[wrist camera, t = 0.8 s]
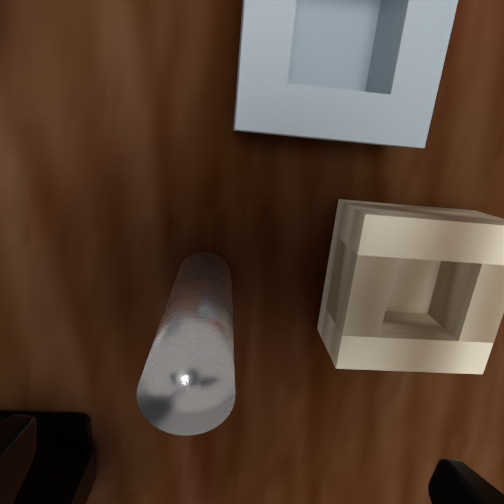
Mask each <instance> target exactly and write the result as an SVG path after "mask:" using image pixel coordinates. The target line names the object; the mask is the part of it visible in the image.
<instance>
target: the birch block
mask: <svg viewBox="0 0 504 504" xmlns="http://www.w3.org/2000/svg"><path fill="white" fill-rule="evenodd" d="M503 313H504V219H502V218H499V217H495V216H492V215H489V214H485V213H482V212H479V211H475V210H463V209H451V208H439V207H427V206H415V205H403V204H391V203H379V202H367V201H355V200H343V199H338V205H337V211H336V217H335V223H334V230H333V236H332V242H331V248H330V254H329V260H328V266H327V272H326V278H325V284H324V290H323V296H322V302H321V308H320V314H319V320H318V326H317V329H318V332H319V334H320V336H321V338H322V340H323V342H324V344H325V347H326V349H327V351H328V353H329V355H330V357H331V359H332V361H333V364H334V366H335V368H336V369H359V370H385V371H411V372H437V373H462V374H483V372H484V369H485V366H486V363H487V360H488V358H489V355H490V352H491V349H492V346H493V343H494V340H495V337H496V334H497V331H498V328H499V325H500V322H501V319H502V316H503Z"/></svg>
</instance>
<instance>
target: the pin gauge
mask: <svg viewBox="0 0 504 504" xmlns="http://www.w3.org/2000/svg"><path fill="white" fill-rule="evenodd" d="M137 402H138V406H139V408H140V411H141V412H142V414H143V416H144V417H145V418H146V419H147V420H148V421H149V422H150V423H151V424H152V425H154V426H155V427H157V428H158V429H160V430H162V431H165V432H167V433H171V434H175V435H197V434H201V433H204V432H207V431H210V430H212V429H214V428H215V427H217V426H218V425H220V424H221V423H222V422H223V421H224V420H225V419H226V418H227V417H228V415H229V414H230V412H231V410H232V409H233V406H234V402H235V370H234V340H233V310H232V280H231V270H230V267H229V265H228V263H227V262H226V260H225V259H224V258H223V257H221V256H220V255H218V254H216V253H214V252H210V251H199V252H196V253H193V254H191V255H189V256H188V257H187V258H186V259H185V260H184V261H183V262H182V264H181V266H180V268H179V271H178V274H177V277H176V280H175V283H174V285H173V288H172V291H171V294H170V297H169V299H168V302H167V305H166V308H165V311H164V314H163V316H162V319H161V322H160V325H159V328H158V330H157V333H156V336H155V339H154V342H153V345H152V347H151V350H150V353H149V356H148V359H147V361H146V364H145V367H144V370H143V373H142V376H141V378H140V381H139V384H138V388H137Z"/></svg>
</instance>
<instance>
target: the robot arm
mask: <svg viewBox="0 0 504 504" xmlns="http://www.w3.org/2000/svg"><path fill="white" fill-rule="evenodd" d="M78 422H80V423H82V424H79V423H78ZM95 478H96V465H95V449H94V447H93V446H92V445H91V443H90V425H89V418H88V417H87V416H85V415H82V414H50V413H11V412H0V504H86V502H87V499H88V497H89V495H90V493H91V491H92V488H93V484H94V481H95ZM428 491H429V496H430V499H431V502H432V504H504V494H502V493H501V492H500V491H498V490H497V489H496V488H495V487H493V486H492V485H491V484H490V483H488V482H487V481H486V480H485V479H483V478H482V477H481V476H479V475H478V474H477V473H476V472H474V471H473V470H472V469H471V468H469V467H468V466H467V465H465V464H464V463H463V462H462V461H460V460H457V459H448V458H442V459H441V460H439V462H438V464H437V466H436V468H435V470H434V473H433V475H432V477H431V479H430V482H429V486H428Z"/></svg>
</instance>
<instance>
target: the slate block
mask: <svg viewBox="0 0 504 504" xmlns="http://www.w3.org/2000/svg"><path fill="white" fill-rule="evenodd" d="M457 3H458V0H243V5H242V19H241V32H240V46H239V60H238V73H237V87H236V101H235V114H234V128H233V131H242V132H252V133H262V134H272V135H282V136H292V137H302V138H312V139H323V140H333V141H343V142H353V143H363V144H373V145H383V146H398V147H414V148H425V143H426V139H427V135H428V130H429V126H430V122H431V117H432V113H433V108H434V104H435V100H436V95H437V91H438V87H439V82H440V78H441V73H442V69H443V65H444V60H445V56H446V52H447V47H448V43H449V38H450V34H451V30H452V25H453V21H454V17H455V12H456V8H457Z"/></svg>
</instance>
